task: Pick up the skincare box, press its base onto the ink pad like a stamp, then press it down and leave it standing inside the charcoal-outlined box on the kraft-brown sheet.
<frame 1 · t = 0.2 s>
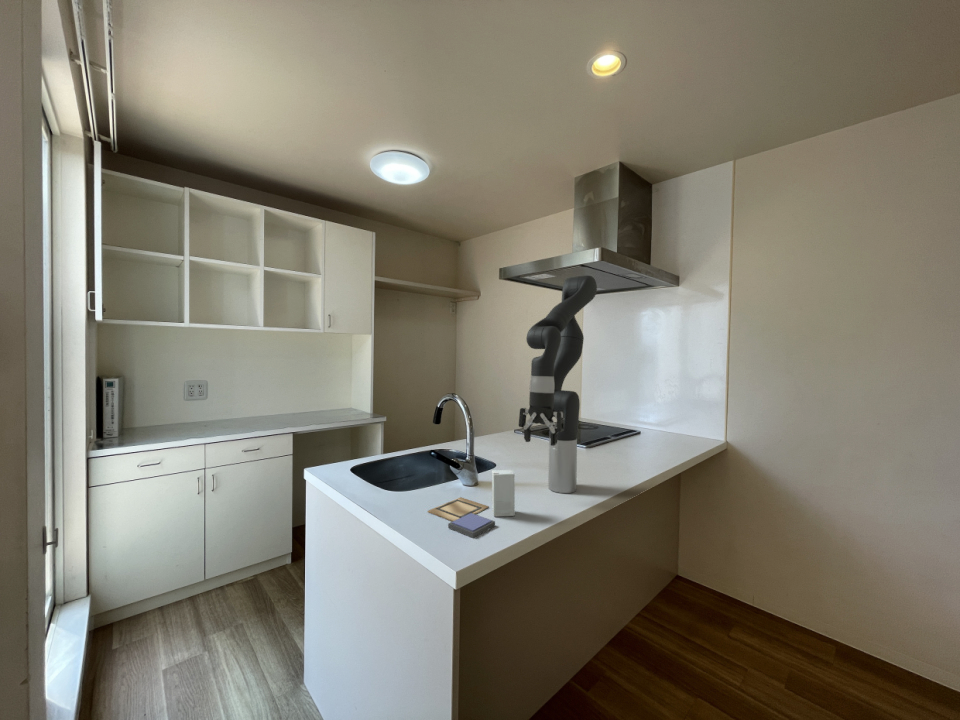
hand: (540, 443, 120), 18 cm above the counter, tool pointing down, fingers open, 8 cm apart
ink pad: (471, 526, 102), on the counter
skincare box: (502, 514, 110), on the counter
print sheet: (458, 509, 113), on the counter
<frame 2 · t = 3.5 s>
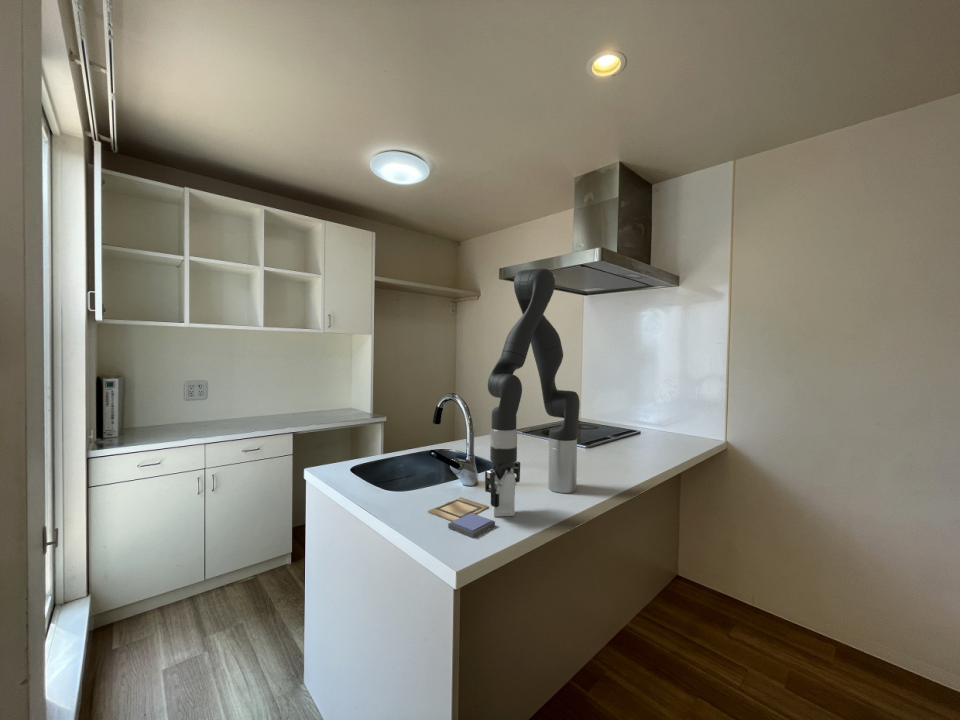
hand: (503, 502, 110), 3 cm above the counter, tool pointing down, fingers closed on skincare box, 7 cm apart
skincare box: (502, 514, 110), on the counter, touching gripper
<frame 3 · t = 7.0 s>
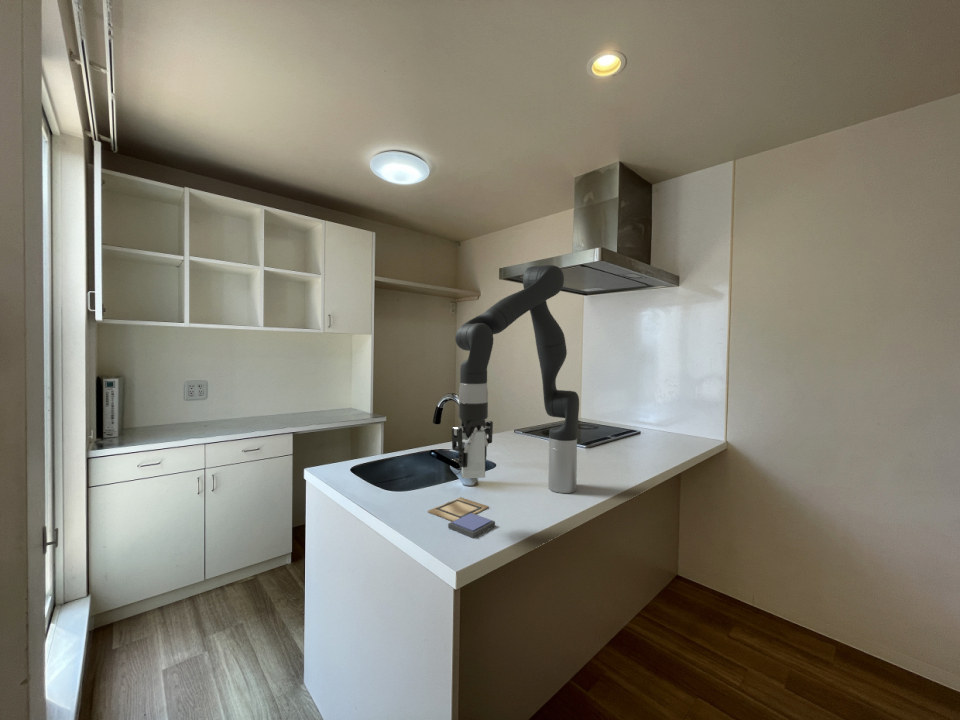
hand: (472, 463, 102), 17 cm above the counter, tool pointing down, fingers closed on skincare box, 7 cm apart
skincare box: (472, 477, 102), point 13 cm above the counter, touching gripper
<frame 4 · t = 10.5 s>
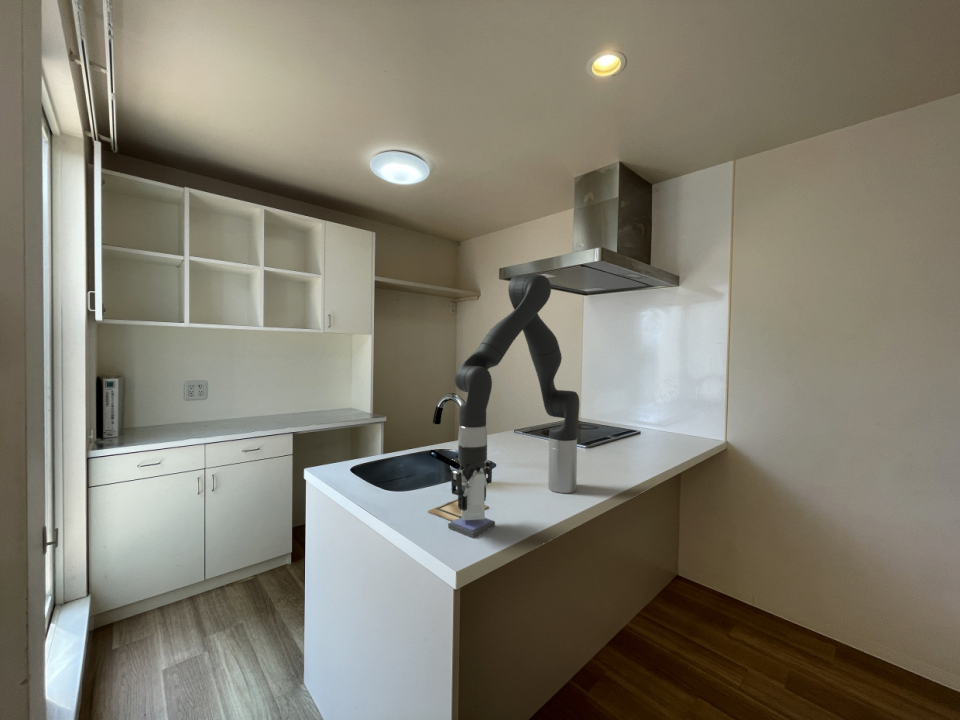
hand: (472, 505, 102), 6 cm above the counter, tool pointing down, fingers closed on skincare box, 7 cm apart
skincare box: (472, 518, 102), point 2 cm above the counter, touching gripper
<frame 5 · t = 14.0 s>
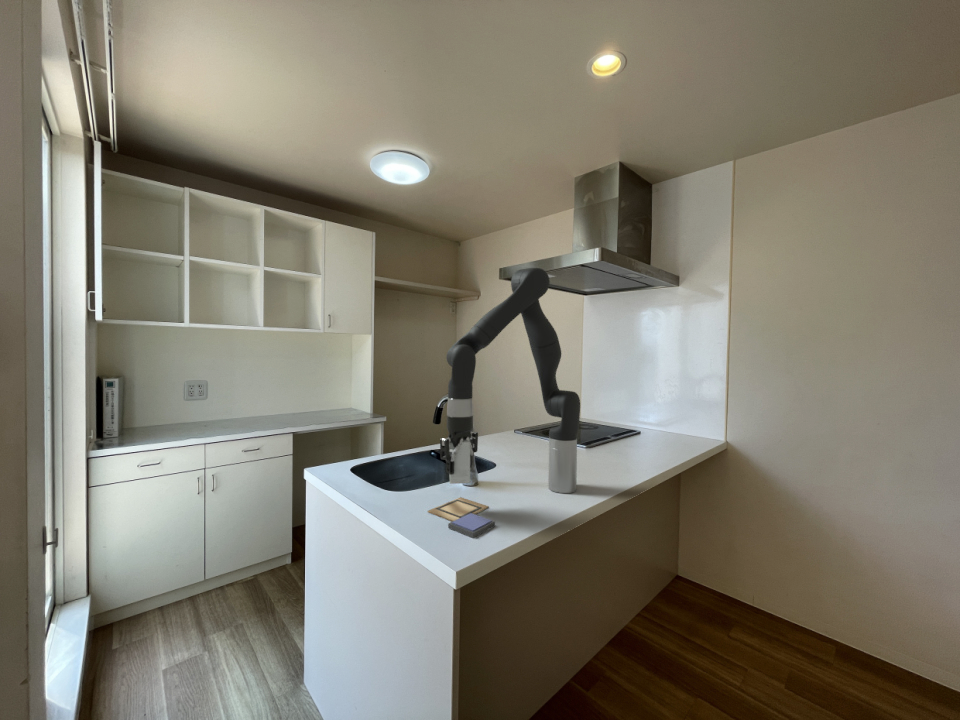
hand: (459, 470, 113), 11 cm above the counter, tool pointing down, fingers closed on skincare box, 7 cm apart
skincare box: (459, 482, 113), point 8 cm above the counter, touching gripper
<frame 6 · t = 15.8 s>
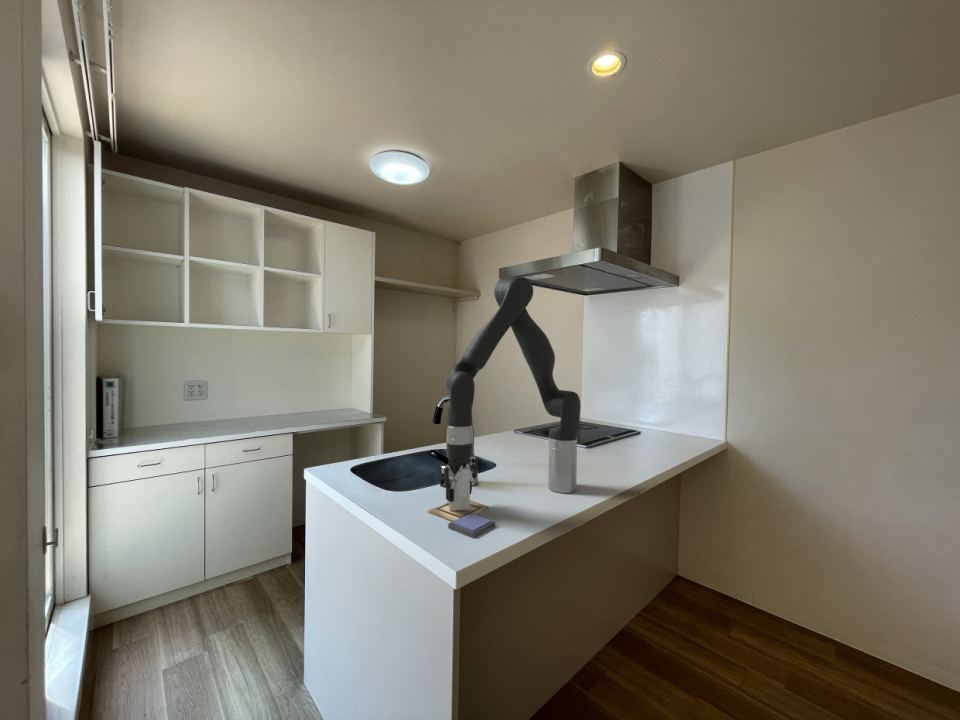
hand: (459, 497, 113), 4 cm above the counter, tool pointing down, fingers closed on skincare box, 7 cm apart
skincare box: (459, 509, 113), resting on print sheet, touching gripper
when the fingers open (4 cm above the counter, at t = 17.2 s): skincare box stays where it is, resting on print sheet.
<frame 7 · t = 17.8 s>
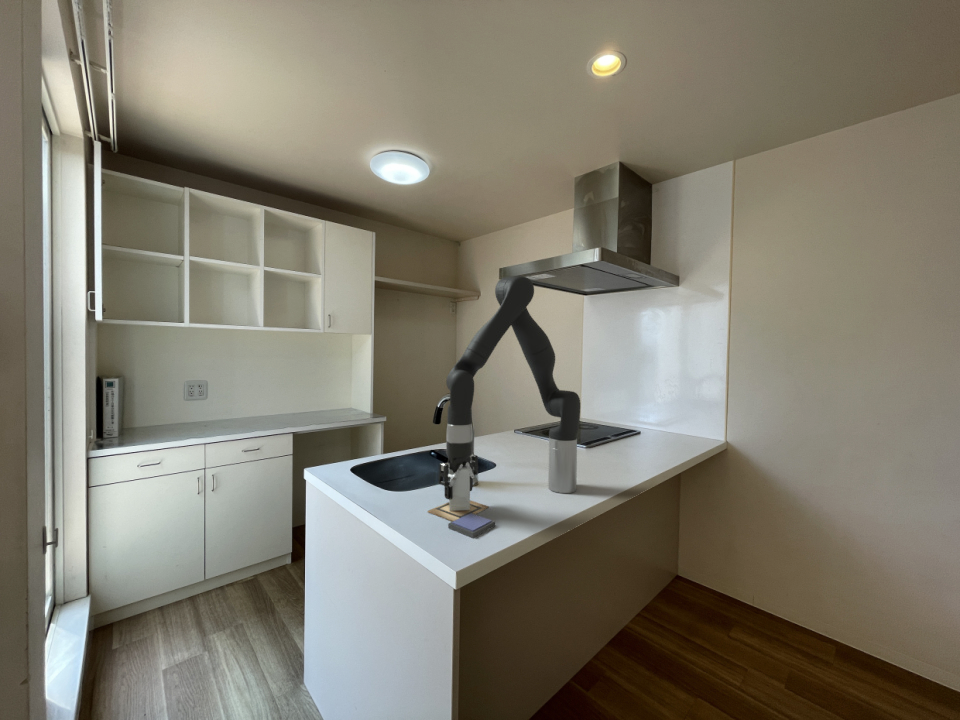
hand: (459, 494, 113), 4 cm above the counter, tool pointing down, fingers open, 8 cm apart
skincare box: (459, 509, 113), resting on print sheet
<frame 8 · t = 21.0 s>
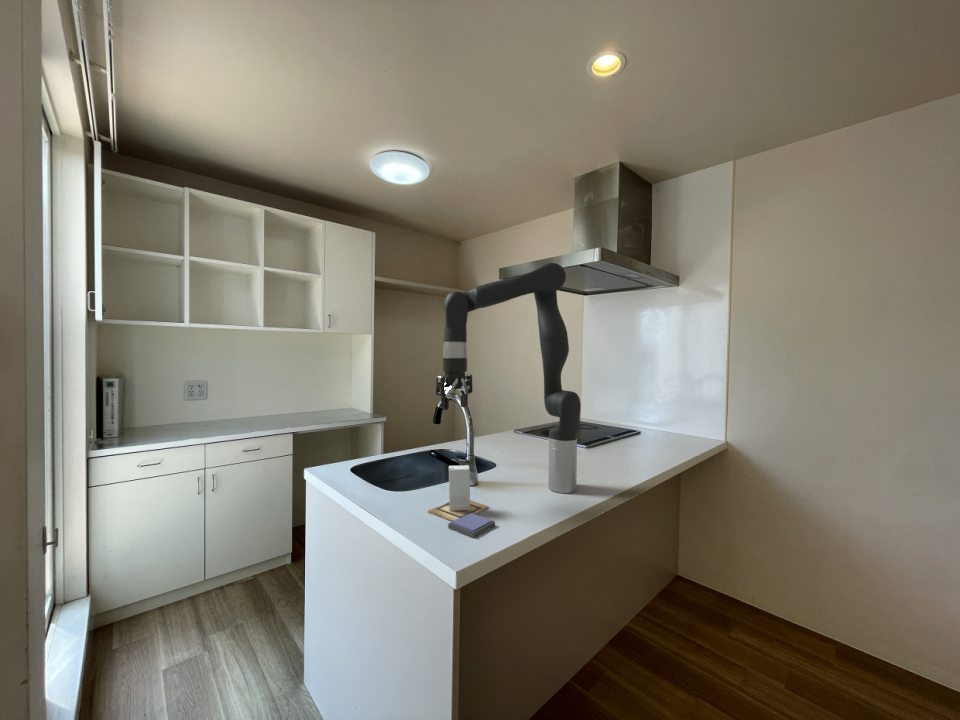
hand: (454, 408, 122), 28 cm above the counter, tool pointing down, fingers open, 8 cm apart
nothing on the counter moved.
at the end: skincare box 0.1 cm off-centre on the print sheet, point 0.2 cm above the print sheet's base; skincare box tilted 0°; the gripper is holding nothing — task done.
